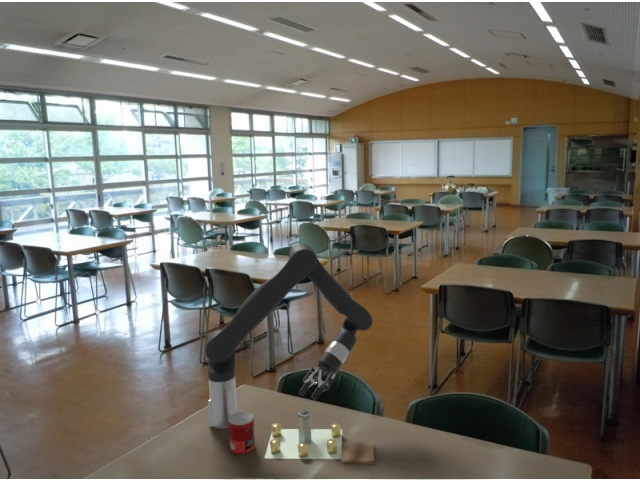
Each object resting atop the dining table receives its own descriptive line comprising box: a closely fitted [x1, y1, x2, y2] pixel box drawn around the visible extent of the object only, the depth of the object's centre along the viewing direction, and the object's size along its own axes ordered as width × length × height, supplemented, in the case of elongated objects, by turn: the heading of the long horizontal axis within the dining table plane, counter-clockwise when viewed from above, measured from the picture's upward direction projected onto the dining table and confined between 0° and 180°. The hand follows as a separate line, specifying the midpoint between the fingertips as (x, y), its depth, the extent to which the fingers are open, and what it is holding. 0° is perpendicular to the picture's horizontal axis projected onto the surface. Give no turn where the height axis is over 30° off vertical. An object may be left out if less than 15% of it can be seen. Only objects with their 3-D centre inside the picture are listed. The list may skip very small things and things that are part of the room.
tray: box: [340, 442, 375, 465], centre depth 166 cm, size 10×10×1 cm
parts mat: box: [264, 428, 343, 460], centre depth 173 cm, size 24×18×1 cm
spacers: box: [270, 422, 342, 458], centre depth 171 cm, size 23×15×4 cm, turn 87°
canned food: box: [228, 411, 256, 456], centre depth 170 cm, size 8×8×11 cm
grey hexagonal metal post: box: [297, 409, 312, 444], centre depth 173 cm, size 4×5×10 cm
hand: (306, 396), depth 176 cm, fingers open, 8 cm apart
